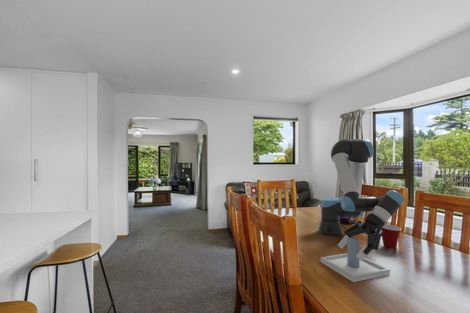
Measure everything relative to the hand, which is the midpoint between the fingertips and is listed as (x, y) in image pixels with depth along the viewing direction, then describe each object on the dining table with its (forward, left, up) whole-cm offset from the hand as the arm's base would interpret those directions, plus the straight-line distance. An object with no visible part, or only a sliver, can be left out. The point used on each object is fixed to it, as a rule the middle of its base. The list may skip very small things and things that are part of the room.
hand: (348, 252), depth 107 cm
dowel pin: (0, +2, -6) cm, 7 cm away
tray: (0, +2, -7) cm, 8 cm away
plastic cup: (-13, +42, -7) cm, 45 cm away
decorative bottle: (-66, +59, -7) cm, 89 cm away
